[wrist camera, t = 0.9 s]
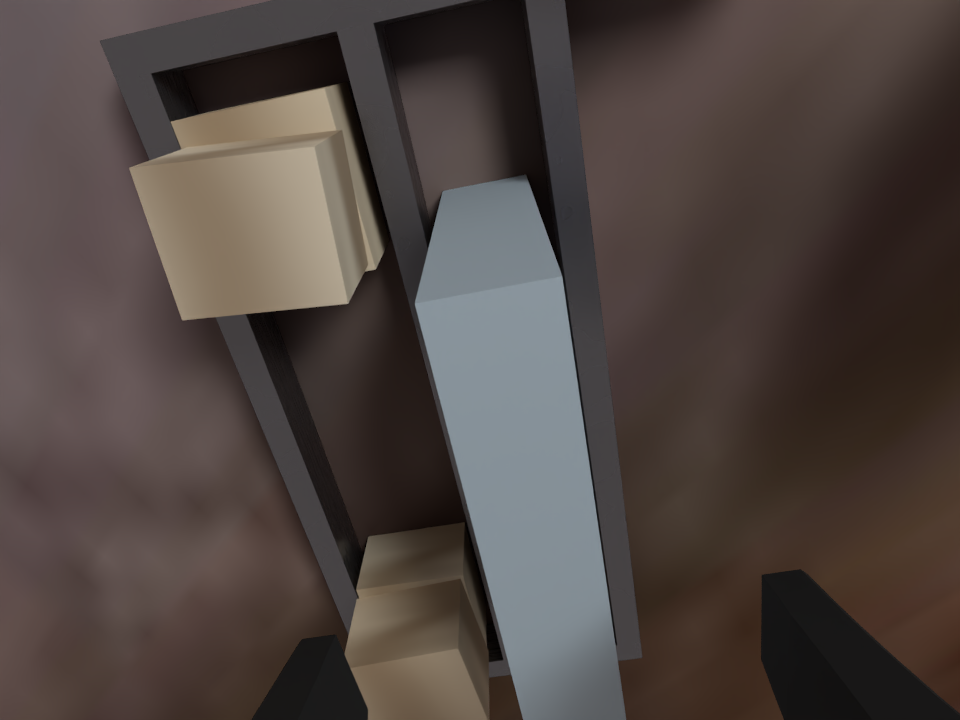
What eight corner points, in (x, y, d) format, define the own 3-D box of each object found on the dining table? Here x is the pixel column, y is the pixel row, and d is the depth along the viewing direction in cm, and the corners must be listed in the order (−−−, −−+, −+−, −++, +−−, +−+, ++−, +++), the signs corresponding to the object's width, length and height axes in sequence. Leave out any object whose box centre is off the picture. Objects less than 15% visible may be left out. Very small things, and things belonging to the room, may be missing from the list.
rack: (549, -56, 14) (556, -66, 12) (632, 620, 23) (642, 658, 22) (136, 40, 15) (99, 41, 13) (379, 654, 24) (372, 692, 23)
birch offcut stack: (352, 80, 15) (299, 95, 11) (393, 239, 17) (363, 308, 13) (210, 111, 16) (100, 138, 11) (266, 263, 17) (191, 340, 13)
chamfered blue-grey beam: (525, 174, 16) (562, 276, 9) (581, 525, 22) (632, 765, 14) (442, 190, 16) (414, 303, 9) (518, 535, 22) (538, 776, 15)
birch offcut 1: (464, 519, 22) (462, 574, 19) (486, 601, 23) (486, 661, 21) (368, 533, 22) (355, 589, 20) (397, 613, 24) (388, 673, 21)
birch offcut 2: (460, 578, 19) (458, 648, 17) (488, 650, 21) (489, 724, 19) (356, 599, 20) (340, 669, 18) (391, 668, 21) (380, 742, 19)
